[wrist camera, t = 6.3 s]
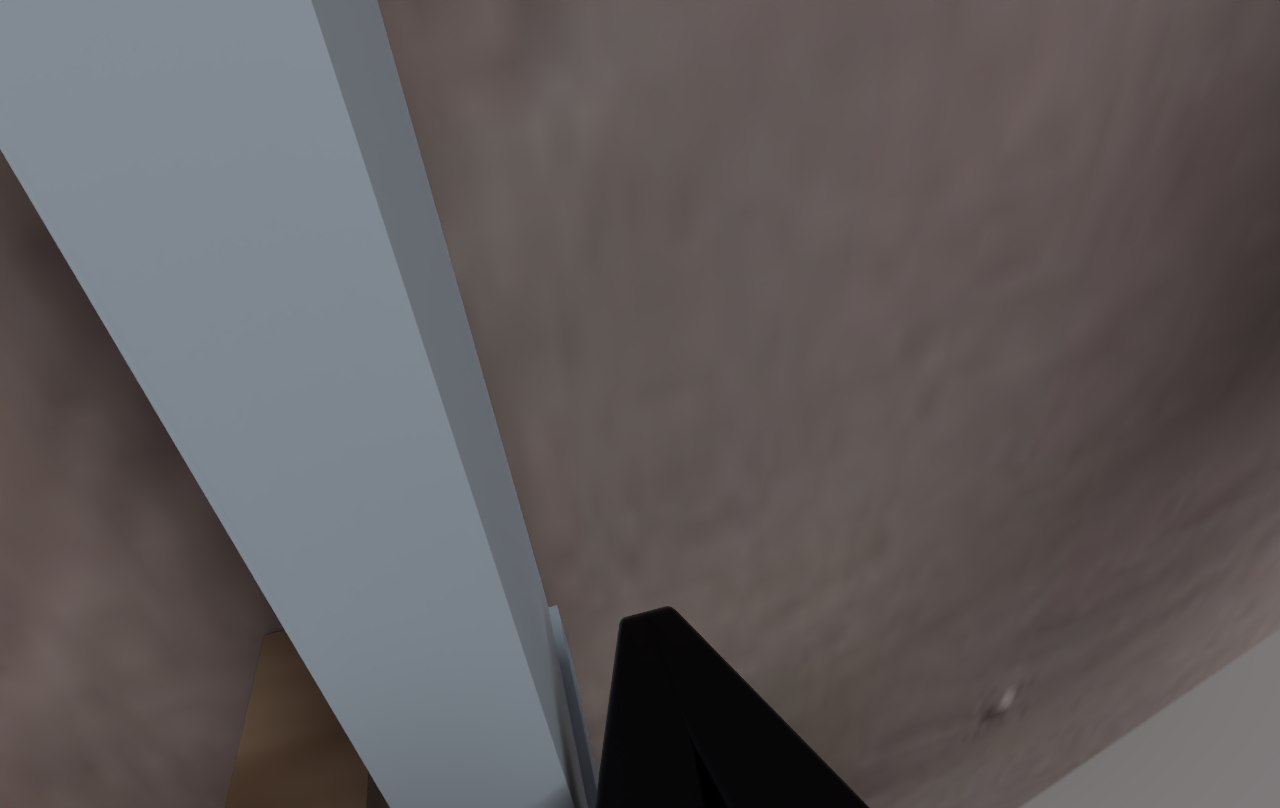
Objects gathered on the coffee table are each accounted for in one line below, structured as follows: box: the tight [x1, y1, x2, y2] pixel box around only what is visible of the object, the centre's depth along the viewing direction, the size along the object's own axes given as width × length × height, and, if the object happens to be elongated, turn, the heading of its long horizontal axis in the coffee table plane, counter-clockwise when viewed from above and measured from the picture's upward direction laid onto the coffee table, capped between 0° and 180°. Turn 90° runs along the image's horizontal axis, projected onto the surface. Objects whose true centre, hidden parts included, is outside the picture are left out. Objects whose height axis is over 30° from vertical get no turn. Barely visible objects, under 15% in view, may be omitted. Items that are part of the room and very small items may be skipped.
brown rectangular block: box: [225, 631, 390, 808], centre depth 10 cm, size 2×2×5 cm
